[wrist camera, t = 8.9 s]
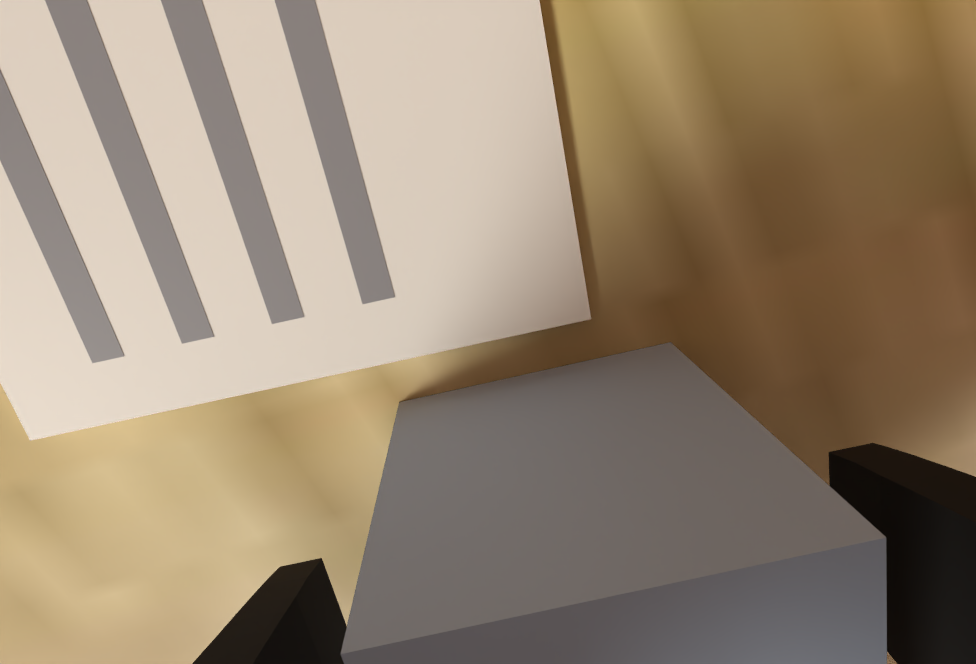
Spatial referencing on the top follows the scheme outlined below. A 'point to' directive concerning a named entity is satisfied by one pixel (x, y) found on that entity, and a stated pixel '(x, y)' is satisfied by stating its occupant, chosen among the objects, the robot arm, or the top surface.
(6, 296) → the letter
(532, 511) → the slate cube
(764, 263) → the top surface
